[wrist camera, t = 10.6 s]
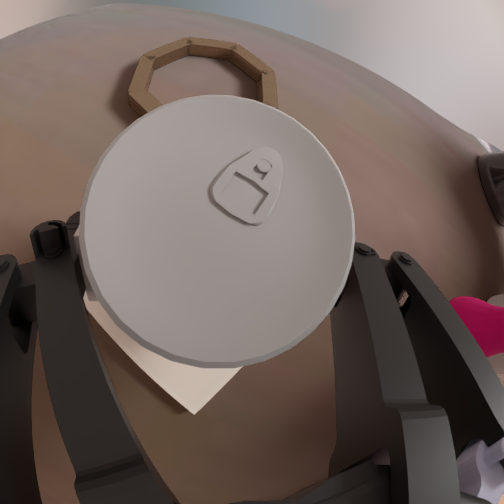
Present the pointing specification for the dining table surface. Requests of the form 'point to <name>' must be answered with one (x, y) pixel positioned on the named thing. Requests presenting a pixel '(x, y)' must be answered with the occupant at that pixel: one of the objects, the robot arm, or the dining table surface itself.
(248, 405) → the dining table surface
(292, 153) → the canned food
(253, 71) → the wooden polygonal ring
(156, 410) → the dining table surface
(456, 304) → the pepper mill
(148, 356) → the coaster
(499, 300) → the cylinder vase
